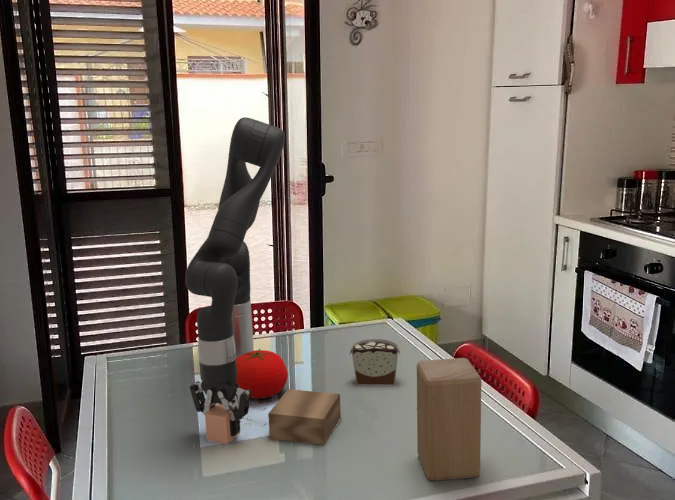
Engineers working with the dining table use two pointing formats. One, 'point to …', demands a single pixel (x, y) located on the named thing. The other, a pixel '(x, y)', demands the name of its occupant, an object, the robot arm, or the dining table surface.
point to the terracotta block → (218, 425)
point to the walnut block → (304, 416)
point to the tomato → (261, 373)
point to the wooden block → (448, 418)
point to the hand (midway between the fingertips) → (223, 432)
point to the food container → (375, 362)
